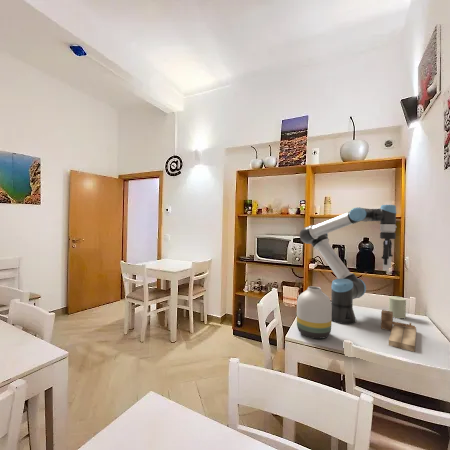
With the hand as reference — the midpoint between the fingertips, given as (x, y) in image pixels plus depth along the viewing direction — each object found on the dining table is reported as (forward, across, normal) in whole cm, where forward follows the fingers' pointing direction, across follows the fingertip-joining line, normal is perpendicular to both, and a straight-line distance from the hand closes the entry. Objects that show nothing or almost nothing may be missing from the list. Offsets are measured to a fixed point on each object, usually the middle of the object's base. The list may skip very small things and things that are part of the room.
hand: (387, 269), depth 150 cm
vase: (+32, -40, +28) cm, 59 cm away
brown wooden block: (+32, -6, -6) cm, 33 cm away
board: (+32, -16, -9) cm, 37 cm away
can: (+32, +20, -4) cm, 38 cm away
